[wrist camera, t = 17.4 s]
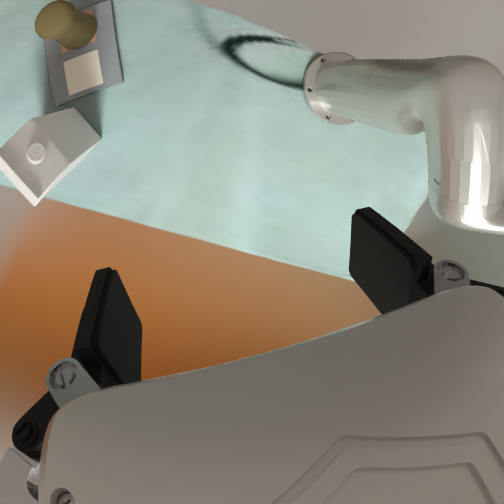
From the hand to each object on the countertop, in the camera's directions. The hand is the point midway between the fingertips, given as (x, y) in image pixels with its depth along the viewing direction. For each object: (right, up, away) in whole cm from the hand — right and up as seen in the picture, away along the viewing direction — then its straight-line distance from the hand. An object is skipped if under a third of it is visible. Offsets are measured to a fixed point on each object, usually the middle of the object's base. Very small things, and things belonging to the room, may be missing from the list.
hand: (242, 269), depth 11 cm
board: (-24, +29, +19) cm, 42 cm away
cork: (-24, +32, +16) cm, 43 cm away
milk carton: (-27, +18, +26) cm, 41 cm away
